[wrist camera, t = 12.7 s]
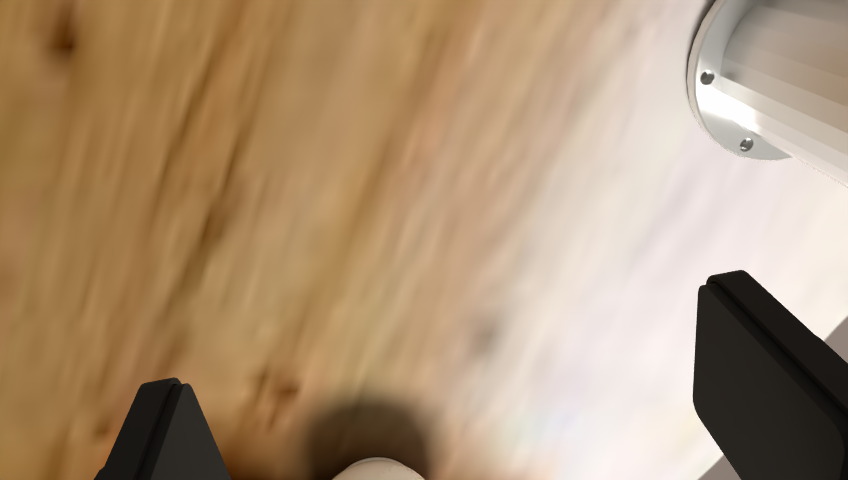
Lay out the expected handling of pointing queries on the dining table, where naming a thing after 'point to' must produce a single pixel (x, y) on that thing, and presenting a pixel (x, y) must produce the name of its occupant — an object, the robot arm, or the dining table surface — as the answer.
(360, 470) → the lidded jar
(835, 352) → the robot arm
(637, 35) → the dining table surface
